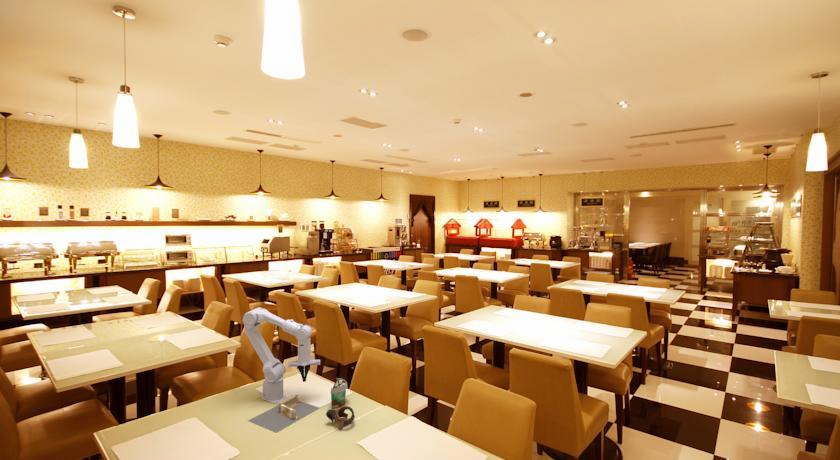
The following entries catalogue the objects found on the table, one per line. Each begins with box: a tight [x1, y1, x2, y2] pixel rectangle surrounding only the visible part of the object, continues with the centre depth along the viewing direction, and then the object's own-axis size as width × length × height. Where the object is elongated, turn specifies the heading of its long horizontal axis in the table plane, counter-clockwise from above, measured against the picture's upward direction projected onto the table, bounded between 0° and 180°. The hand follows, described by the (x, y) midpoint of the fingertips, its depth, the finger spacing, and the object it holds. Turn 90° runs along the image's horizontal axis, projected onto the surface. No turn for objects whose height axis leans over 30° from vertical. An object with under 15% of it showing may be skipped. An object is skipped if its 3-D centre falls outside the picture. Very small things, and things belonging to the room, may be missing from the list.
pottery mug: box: [325, 405, 356, 430], centre depth 168 cm, size 12×10×8 cm
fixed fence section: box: [278, 394, 300, 413], centre depth 181 cm, size 2×11×4 cm, turn 149°
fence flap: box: [281, 404, 296, 419], centre depth 174 cm, size 9×2×4 cm, turn 54°
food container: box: [330, 377, 349, 410], centre depth 185 cm, size 12×6×10 cm, turn 179°
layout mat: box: [247, 400, 320, 434], centre depth 175 cm, size 18×24×1 cm
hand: (304, 380), depth 189 cm, fingers closed
